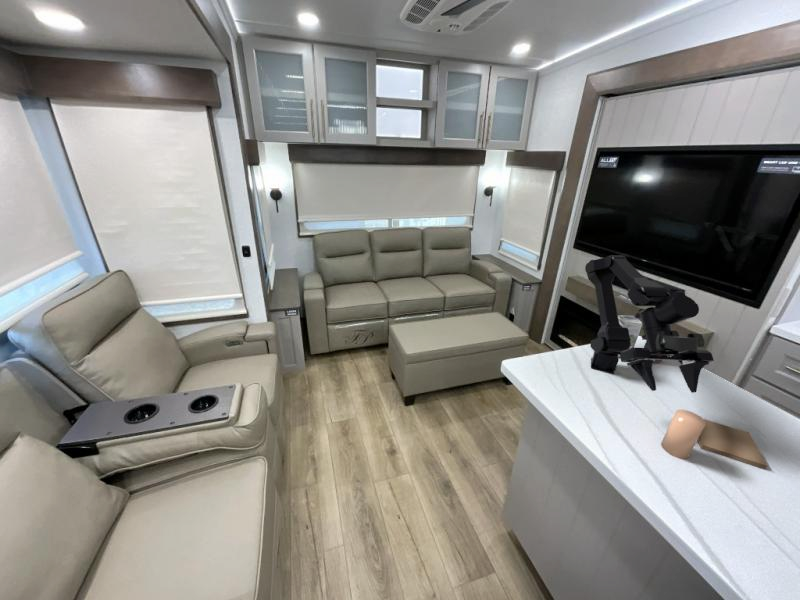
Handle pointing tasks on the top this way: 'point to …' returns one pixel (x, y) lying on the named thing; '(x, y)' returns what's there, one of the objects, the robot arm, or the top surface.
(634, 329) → the syrup box
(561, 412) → the top surface
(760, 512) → the top surface
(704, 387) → the top surface
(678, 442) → the peach rounded cylinder
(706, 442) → the walnut serving board
